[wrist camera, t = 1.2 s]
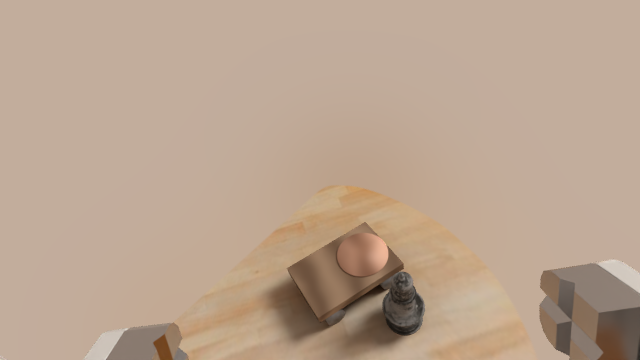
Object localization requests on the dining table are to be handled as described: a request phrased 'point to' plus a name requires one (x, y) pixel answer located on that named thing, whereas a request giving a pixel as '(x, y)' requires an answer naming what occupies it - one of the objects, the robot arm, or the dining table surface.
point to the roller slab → (344, 272)
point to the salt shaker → (403, 305)
